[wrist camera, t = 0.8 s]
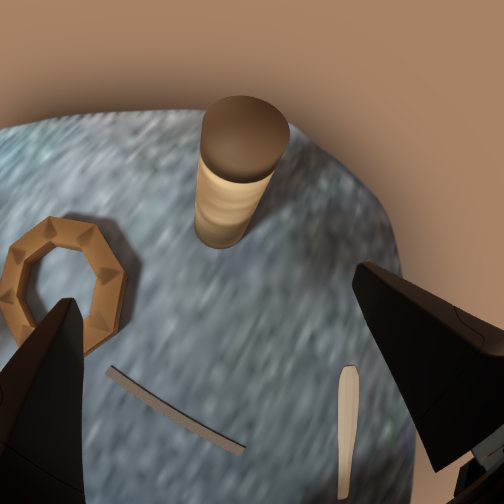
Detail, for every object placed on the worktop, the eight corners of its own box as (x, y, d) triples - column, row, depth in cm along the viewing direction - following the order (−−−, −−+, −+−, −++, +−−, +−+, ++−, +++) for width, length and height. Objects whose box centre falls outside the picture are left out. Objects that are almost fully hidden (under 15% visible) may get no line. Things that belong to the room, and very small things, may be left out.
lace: (243, 446, 21) (245, 448, 20) (238, 453, 21) (240, 456, 20) (112, 365, 21) (110, 366, 20) (107, 373, 21) (105, 374, 20)
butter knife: (369, 364, 24) (340, 367, 23) (341, 581, 16) (317, 589, 16) (365, 364, 25) (337, 366, 24) (339, 579, 17) (314, 586, 16)
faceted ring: (150, 309, 22) (147, 307, 21) (47, 383, 19) (39, 385, 17) (84, 202, 24) (79, 194, 22) (-7, 272, 20) (-15, 267, 19)
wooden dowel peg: (254, 231, 26) (306, 139, 14) (214, 259, 25) (238, 177, 13) (224, 193, 26) (253, 86, 15) (184, 218, 25) (185, 114, 13)
